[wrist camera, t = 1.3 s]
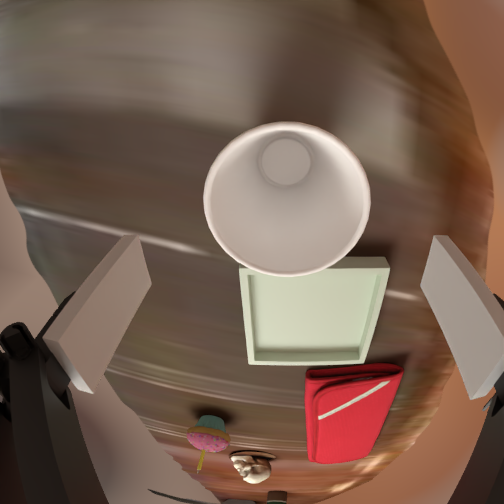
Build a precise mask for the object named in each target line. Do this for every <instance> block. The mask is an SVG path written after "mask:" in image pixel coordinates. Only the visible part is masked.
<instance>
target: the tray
mask: <svg viewBox="0 0 504 504" xmlns="http://www.w3.org/2000/svg"><path fill="white" fill-rule="evenodd" d="M389 272H390V266H389V264H388V262H387V260H386V258H385V257H343V258H341V259H340V260H339V261H337V262H336V263H335V264H333V265H331V266H329V267H327V268H325V269H323V270H321V271H318V272H315V273H312V274H308V275H303V276H295V277H280V276H273V275H268V274H263V273H260V272H257V271H255V270H252V269H250V268H248V267H246V266H244V265H243V264H241V263H240V266H239V274H240V285H241V295H242V304H243V314H244V324H245V334H246V343H247V352H248V362H249V364H256V365H339V364H360V363H364V361H365V358H366V355H367V352H368V349H369V346H370V343H371V339H372V336H373V333H374V330H375V326H376V323H377V319H378V316H379V312H380V308H381V304H382V301H383V297H384V293H385V289H386V285H387V280H388V276H389Z"/></svg>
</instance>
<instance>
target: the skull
mask: <svg viewBox="0 0 504 504" xmlns="http://www.w3.org/2000/svg"><path fill="white" fill-rule="evenodd" d="M229 458H230V459H231V460H232V461H233V462H234V467H235V468H236V469H237V470H238V471H239V474H240V475H242V476H243V479H244V480H245V481H247V482H249V483H259V482H261V481H263V480H265V479H267V478H268V477H269V476H270V473H271V465H270V463H269V462H268V461H267V460H268V459H269V460H270V459H272V458H276V457H275V456H274V455H271V454H268V453H261V452H239V453H234V454H232V455H230V456H229Z"/></svg>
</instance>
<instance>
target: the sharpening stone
mask: <svg viewBox="0 0 504 504" xmlns="http://www.w3.org/2000/svg"><path fill="white" fill-rule="evenodd" d="M222 504H256V503H255V502H254V501H250V500H234V499H228V500H226V501H225V502H223V503H222Z"/></svg>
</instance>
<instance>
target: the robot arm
mask: <svg viewBox="0 0 504 504" xmlns="http://www.w3.org/2000/svg"><path fill="white" fill-rule="evenodd" d="M151 284H152V283H151V280H150V277H149V273H148V269H147V266H146V262H145V258H144V255H143V251H142V247H141V243H140V239H139V235H124V236H123V237H122V238H121V239H120V240H119V241H118V242H117V244H116V245H115V246H114V247H113V248H112V249H111V250H110V252H109V253H108V254H107V255H106V256H105V257H104V259H103V260H102V261H101V262H100V263H99V264H98V266H97V267H96V268H95V269H94V270H93V272H92V273H91V274H90V275H89V276H88V278H87V279H86V280H85V281H84V283H83V284H82V285H81V286H80V288H79V289H78V290H77V291H76V292H75V291H74V292H73V293H72V294H71V295H69V296H68V297H67V298H65V299H64V301H63V302H62V303H61V304H60V306H59V307H58V309H57V310H56V311H55V312H54V314H53V316H51V318H50V319H49V320H48V322H47V323H46V325H45V326H44V327H43V329H42V330H41V331H40V333H39V334H38V335H37V337H36V338H35V339H34V338H33V336H32V335H31V333H30V331H29V330H28V328H27V326H26V325H25V324H24V323H22V322H16V323H13V324H11V325H9V326H7V327H6V328H5V329H4V330H3V331H2V332H1V334H0V345H1V347H2V348H3V350H4V351H5V353H2V352H1V350H0V395H1V396H2V397H3V401H2V403H1V402H0V504H109V503H108V501H107V498H106V496H105V494H104V491H103V489H102V487H101V484H100V482H99V480H98V477H97V474H96V472H95V469H94V467H93V464H92V461H91V459H90V456H89V453H88V450H87V447H86V444H85V441H84V438H83V435H82V432H81V428H80V425H79V421H78V417H77V414H76V410H75V406H74V402H73V398H72V394H71V391H70V389H69V388H68V384H69V382H70V380H71V381H72V382H73V384H74V385H75V386H76V388H77V389H78V390H81V391H85V392H89V393H92V394H94V393H95V390H96V388H97V386H98V384H99V382H100V380H101V378H102V376H103V374H104V372H105V370H106V368H107V366H108V364H109V362H110V360H111V358H112V356H113V354H114V352H115V350H116V348H117V346H118V345H119V343H120V341H121V339H122V337H123V335H124V333H125V331H126V329H127V328H128V326H129V324H130V322H131V320H132V318H133V316H134V315H135V313H136V311H137V309H138V307H139V306H140V304H141V302H142V300H143V298H144V297H145V295H146V293H147V291H148V290H149V288H150V286H151ZM420 286H421V288H422V290H423V292H424V294H425V296H426V298H427V300H428V302H429V304H430V306H431V308H432V310H433V312H434V314H435V316H436V318H437V320H438V323H439V325H440V327H441V329H442V331H443V333H444V336H445V338H446V340H447V342H448V345H449V347H450V349H451V352H452V354H453V356H454V359H455V361H456V364H457V366H458V369H459V371H460V373H461V376H462V379H463V381H464V384H465V387H466V390H467V392H468V395H469V398H470V400H472V399H476V398H479V397H483V396H486V395H487V393H488V392H489V391H490V390H491V388H492V387H493V386H494V387H495V389H496V393H495V395H494V396H493V397H492V398H491V399H490V400H489V401H488V403H487V404H486V405H485V406H484V408H483V411H485V410H486V409H487V408H488V406H490V407H489V410H488V412H487V416H486V419H485V422H484V425H483V428H482V431H481V433H480V436H479V438H478V441H477V443H476V446H475V448H474V451H473V453H472V456H471V458H470V460H469V462H468V464H467V467H466V469H465V471H464V473H463V475H462V477H461V479H460V481H459V483H458V485H457V487H456V489H455V491H454V493H453V495H452V496H451V498H450V500H449V502H448V504H504V301H503V300H502V299H501V298H499V297H498V296H497V295H496V294H492V292H491V291H490V290H489V288H488V287H487V285H486V284H485V282H484V281H483V280H482V278H481V277H480V276H479V274H478V273H477V272H476V270H475V269H474V268H473V266H472V265H471V264H470V263H469V261H468V260H467V259H466V257H465V256H464V255H463V254H462V252H461V251H460V250H459V249H458V248H457V246H456V245H455V244H454V243H453V242H452V240H451V239H450V238H449V237H448V236H444V235H434V237H433V241H432V245H431V249H430V253H429V257H428V260H427V264H426V267H425V271H424V274H423V278H422V281H421V284H420Z"/></svg>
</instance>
